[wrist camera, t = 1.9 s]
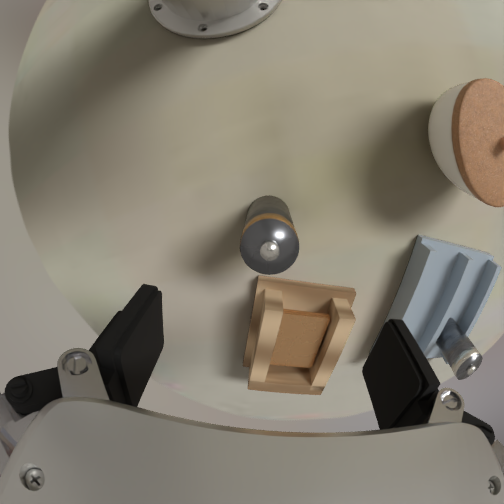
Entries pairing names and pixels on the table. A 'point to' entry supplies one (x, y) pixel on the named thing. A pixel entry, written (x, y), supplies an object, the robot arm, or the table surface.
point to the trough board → (442, 290)
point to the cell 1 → (269, 237)
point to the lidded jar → (471, 138)
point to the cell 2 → (458, 350)
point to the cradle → (267, 326)
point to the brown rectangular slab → (299, 338)
